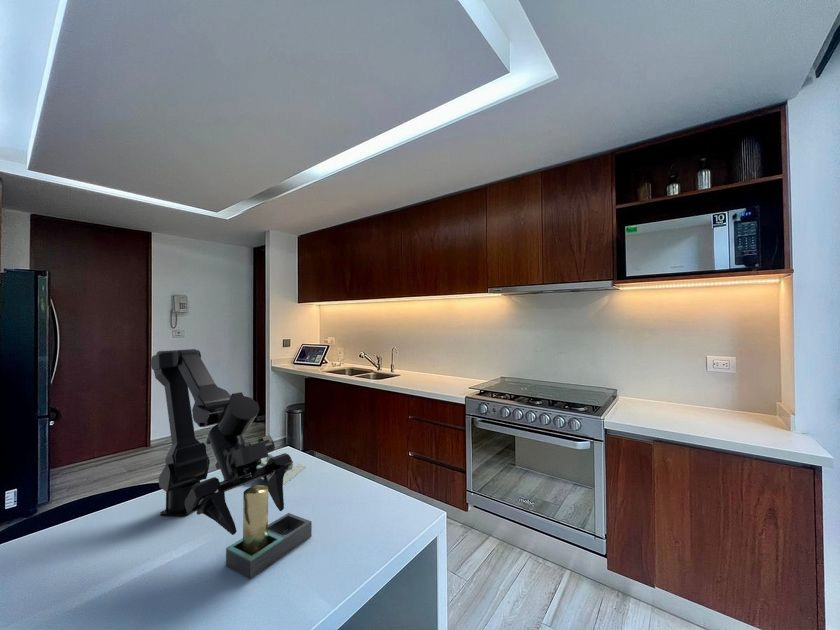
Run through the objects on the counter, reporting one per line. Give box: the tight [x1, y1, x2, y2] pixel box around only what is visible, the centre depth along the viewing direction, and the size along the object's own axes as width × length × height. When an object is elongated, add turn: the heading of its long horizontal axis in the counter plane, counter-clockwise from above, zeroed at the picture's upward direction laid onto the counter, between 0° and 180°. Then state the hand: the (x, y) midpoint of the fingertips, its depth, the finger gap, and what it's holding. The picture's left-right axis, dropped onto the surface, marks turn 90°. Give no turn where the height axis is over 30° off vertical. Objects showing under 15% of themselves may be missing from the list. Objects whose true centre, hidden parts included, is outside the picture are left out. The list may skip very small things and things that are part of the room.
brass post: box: [242, 484, 269, 556], centre depth 64 cm, size 4×4×13 cm
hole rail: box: [225, 512, 313, 580], centre depth 67 cm, size 14×7×3 cm, turn 151°
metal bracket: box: [257, 453, 307, 486], centre depth 100 cm, size 14×6×15 cm
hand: (259, 521), depth 63 cm, fingers open, 9 cm apart
